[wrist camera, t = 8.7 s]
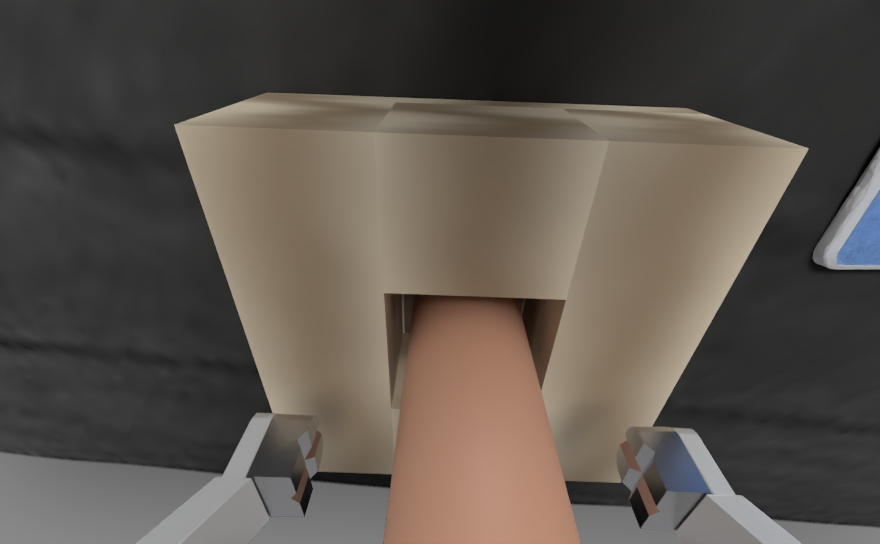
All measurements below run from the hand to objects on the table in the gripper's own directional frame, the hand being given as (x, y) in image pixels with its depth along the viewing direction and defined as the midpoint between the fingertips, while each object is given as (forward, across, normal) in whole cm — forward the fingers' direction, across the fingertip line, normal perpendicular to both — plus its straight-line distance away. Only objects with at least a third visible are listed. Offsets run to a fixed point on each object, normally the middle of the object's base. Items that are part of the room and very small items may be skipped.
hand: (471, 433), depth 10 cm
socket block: (+8, 0, 0) cm, 8 cm away
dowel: (+6, 0, 0) cm, 6 cm away
